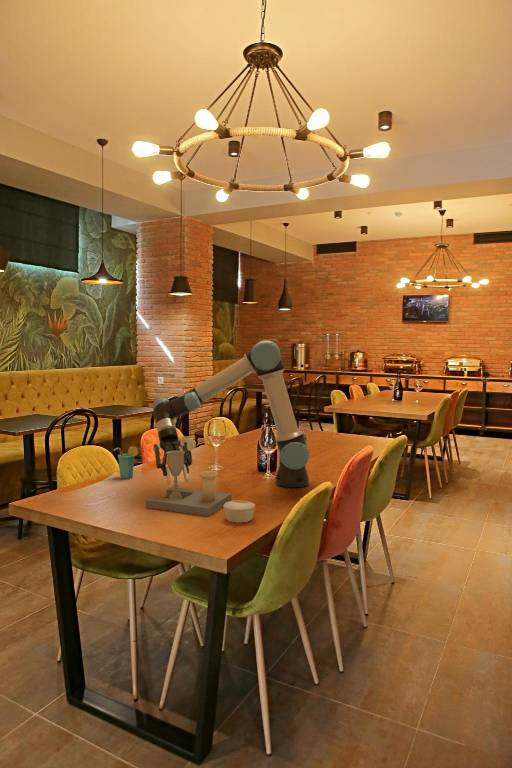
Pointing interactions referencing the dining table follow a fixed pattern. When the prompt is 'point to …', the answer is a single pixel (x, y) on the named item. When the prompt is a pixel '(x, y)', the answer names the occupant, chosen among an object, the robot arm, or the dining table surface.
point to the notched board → (193, 498)
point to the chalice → (175, 469)
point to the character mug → (189, 444)
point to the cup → (127, 462)
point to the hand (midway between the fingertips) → (178, 481)
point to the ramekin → (239, 511)
